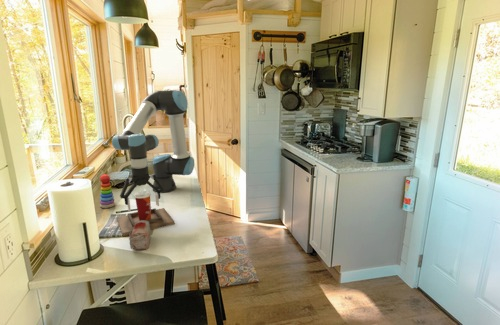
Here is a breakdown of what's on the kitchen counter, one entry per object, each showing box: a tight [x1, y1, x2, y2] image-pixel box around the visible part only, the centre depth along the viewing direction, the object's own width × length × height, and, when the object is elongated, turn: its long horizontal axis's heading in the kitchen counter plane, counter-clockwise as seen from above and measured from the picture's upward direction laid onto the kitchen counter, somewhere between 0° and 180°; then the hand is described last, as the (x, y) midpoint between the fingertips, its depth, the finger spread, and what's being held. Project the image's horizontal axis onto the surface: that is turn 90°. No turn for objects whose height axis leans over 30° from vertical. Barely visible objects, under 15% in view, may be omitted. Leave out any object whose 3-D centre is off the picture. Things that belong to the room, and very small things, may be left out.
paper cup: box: [134, 190, 152, 221], centre depth 149 cm, size 8×8×14 cm
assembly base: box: [116, 207, 176, 237], centre depth 151 cm, size 24×20×4 cm
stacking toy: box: [99, 174, 116, 209], centre depth 171 cm, size 8×8×19 cm
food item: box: [128, 220, 152, 251], centre depth 129 cm, size 14×8×10 cm, turn 15°
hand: (143, 207), depth 149 cm, fingers open, 13 cm apart
